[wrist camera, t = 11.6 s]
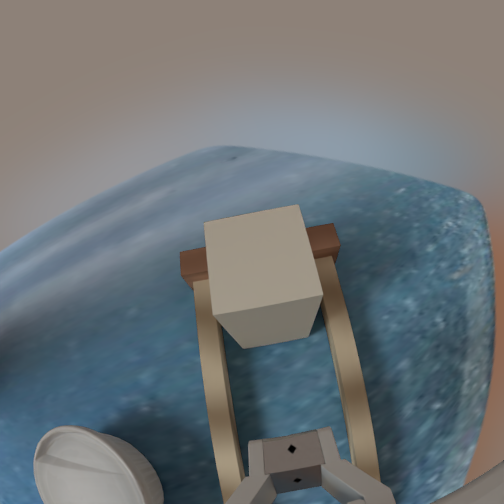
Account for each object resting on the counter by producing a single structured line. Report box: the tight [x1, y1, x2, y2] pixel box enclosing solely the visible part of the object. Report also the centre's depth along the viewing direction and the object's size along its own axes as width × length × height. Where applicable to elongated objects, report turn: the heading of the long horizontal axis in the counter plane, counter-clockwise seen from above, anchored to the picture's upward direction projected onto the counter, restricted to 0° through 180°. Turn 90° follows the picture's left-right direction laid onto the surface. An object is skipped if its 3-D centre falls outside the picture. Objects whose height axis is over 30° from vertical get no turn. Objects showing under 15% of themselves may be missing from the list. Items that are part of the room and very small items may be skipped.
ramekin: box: [34, 425, 164, 504], centre depth 15 cm, size 11×11×5 cm
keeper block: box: [204, 204, 323, 349], centre depth 19 cm, size 5×5×10 cm
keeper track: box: [180, 223, 381, 504], centre depth 19 cm, size 24×12×4 cm, turn 9°
